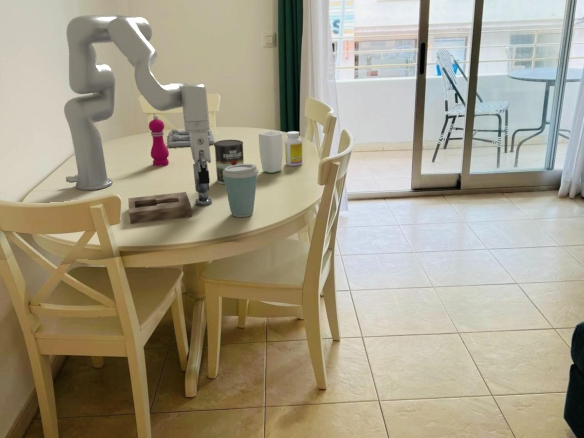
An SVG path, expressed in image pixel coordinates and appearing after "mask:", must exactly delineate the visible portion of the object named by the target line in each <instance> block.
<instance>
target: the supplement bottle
mask: <svg viewBox="0 0 584 438" xmlns="http://www.w3.org/2000/svg"><path fill="white" fill-rule="evenodd" d="M286 135H287V138H286V139H285V142H284V145H285V149H284V150H285V164H286V165H287V166H290V167H297V166H301V165H302V164H303V141H302V139H301V138H300V131H295V130H293V131H292V130H291V131H287V132H286Z"/></svg>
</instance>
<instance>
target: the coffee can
mask: <svg viewBox="0 0 584 438" xmlns="http://www.w3.org/2000/svg"><path fill="white" fill-rule="evenodd" d="M213 146H214V154H215V155H214V157H215V167H216V168H215V169H216V182H217V183H218V184H222V185H225V182H224V177H223V175H222V174H223V171H224V169H225V168H226V167H229V166H233V165H239V164H245V163H244V142H243V141H242V140H239V139H223V140H218V141H215V143H214V145H213Z"/></svg>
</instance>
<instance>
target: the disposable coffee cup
mask: <svg viewBox="0 0 584 438" xmlns="http://www.w3.org/2000/svg"><path fill="white" fill-rule="evenodd" d="M259 173H260V172H259V169H258V168H257V165H256V164H253V163H244V164H239V165H233V166H229V167H226V168H225V169H224V171H223V174H222V175H223V177H224V182H225V184H224V186H225V190H226V195H227V200H228V204H229V210H230V214H231V215H232V216H233V217H236V218H246V217H250V216H252V215H253V212H254V209H255V201H256V199H255V198H256V190H257V182H258V181H257V180H258V174H259Z"/></svg>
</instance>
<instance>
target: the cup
mask: <svg viewBox="0 0 584 438" xmlns="http://www.w3.org/2000/svg"><path fill="white" fill-rule="evenodd" d="M258 145H259V147H258V149H259V155H260V156H259V157H260V162H261V163H260V164H261V168H262V171H263V172H264V173H268V174H274V173H278V172H281V171H282V165H283V152H284V151H283V148H284V147H283V132H281V131H275V130H268V131H263V132H259V133H258Z"/></svg>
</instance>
